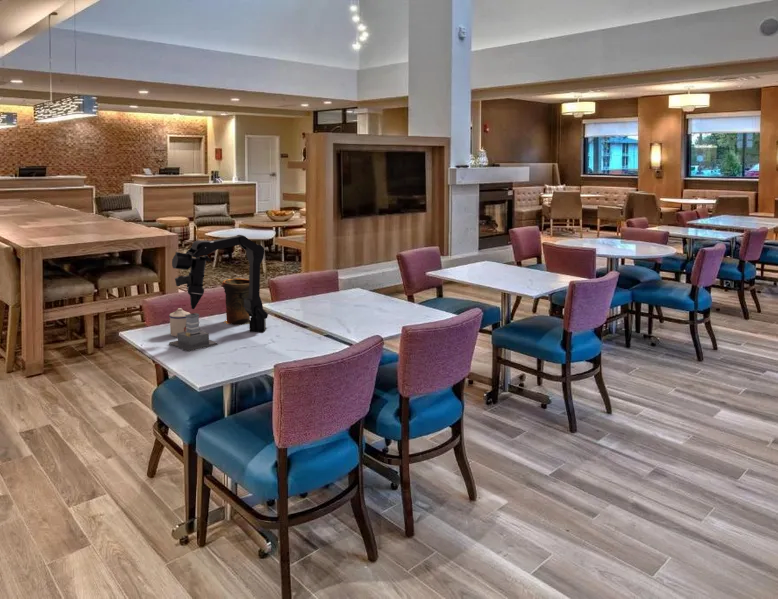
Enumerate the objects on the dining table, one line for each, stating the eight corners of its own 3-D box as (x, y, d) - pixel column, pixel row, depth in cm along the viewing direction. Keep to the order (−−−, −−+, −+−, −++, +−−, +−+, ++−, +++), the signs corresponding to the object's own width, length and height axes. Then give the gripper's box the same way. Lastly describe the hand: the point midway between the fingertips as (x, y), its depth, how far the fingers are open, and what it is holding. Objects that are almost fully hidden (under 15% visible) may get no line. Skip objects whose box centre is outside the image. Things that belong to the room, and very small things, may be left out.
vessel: (245, 316, 312) (245, 276, 307) (259, 323, 301) (258, 282, 296) (218, 320, 303) (217, 279, 298) (230, 327, 292) (230, 285, 287)
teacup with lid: (188, 337, 273) (187, 311, 270) (167, 336, 272) (165, 310, 270) (196, 330, 284) (195, 305, 282) (176, 329, 284) (174, 304, 282)
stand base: (198, 338, 271) (198, 324, 270) (217, 344, 262) (217, 331, 261) (169, 344, 261) (168, 330, 259) (187, 351, 252) (187, 337, 251)
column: (195, 340, 264) (194, 312, 262) (201, 342, 262) (200, 314, 259) (185, 342, 261) (184, 314, 258) (190, 344, 258) (189, 316, 256)
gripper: (176, 266, 269) (172, 301, 270) (177, 270, 251) (172, 308, 253) (203, 269, 273) (198, 304, 274) (206, 274, 255) (201, 311, 257)
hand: (192, 307), depth 264 cm, fingers open, 9 cm apart
